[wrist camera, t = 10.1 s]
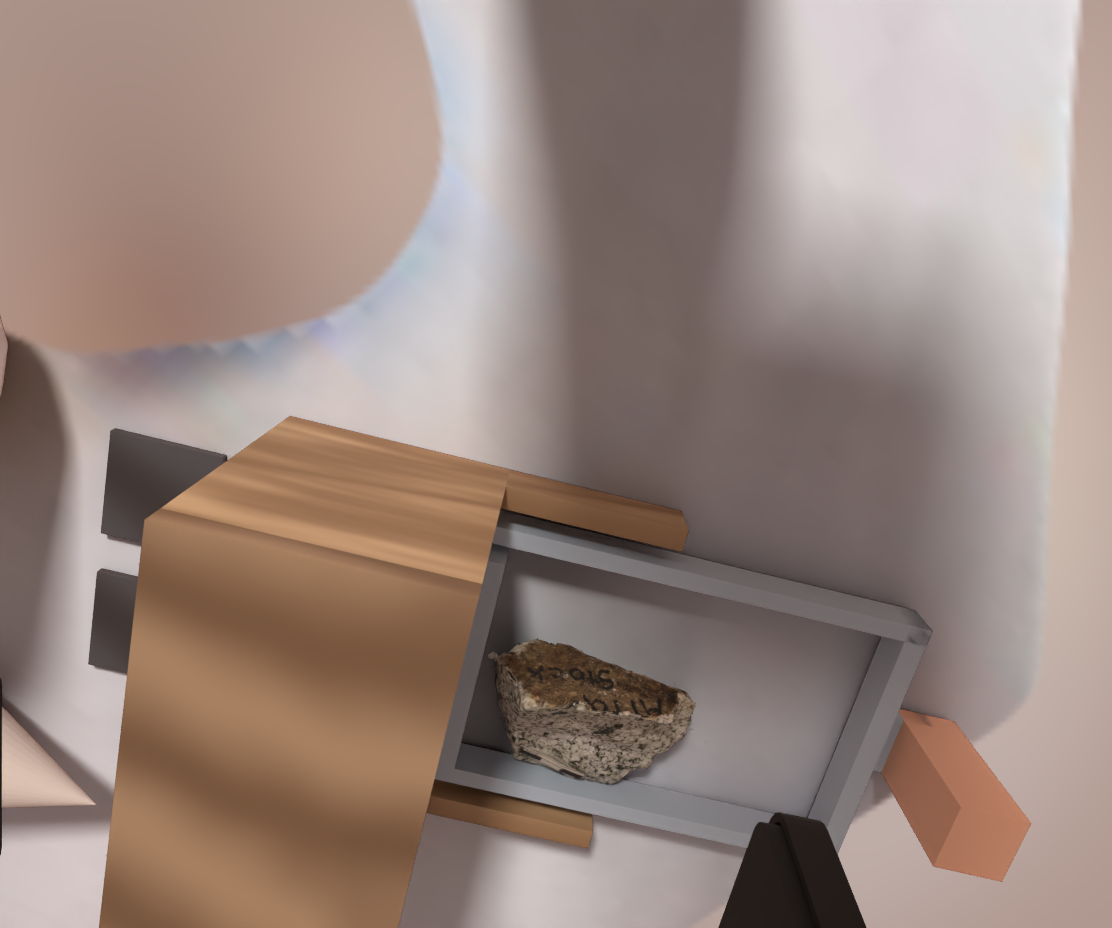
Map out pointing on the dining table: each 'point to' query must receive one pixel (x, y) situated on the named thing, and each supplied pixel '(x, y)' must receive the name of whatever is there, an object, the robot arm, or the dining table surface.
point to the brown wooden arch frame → (302, 669)
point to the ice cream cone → (33, 772)
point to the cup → (2, 354)
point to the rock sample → (585, 712)
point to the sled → (865, 746)
